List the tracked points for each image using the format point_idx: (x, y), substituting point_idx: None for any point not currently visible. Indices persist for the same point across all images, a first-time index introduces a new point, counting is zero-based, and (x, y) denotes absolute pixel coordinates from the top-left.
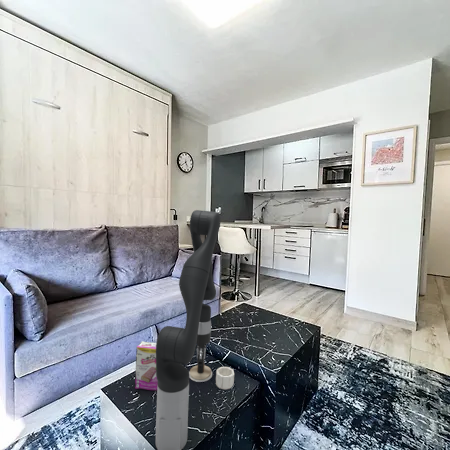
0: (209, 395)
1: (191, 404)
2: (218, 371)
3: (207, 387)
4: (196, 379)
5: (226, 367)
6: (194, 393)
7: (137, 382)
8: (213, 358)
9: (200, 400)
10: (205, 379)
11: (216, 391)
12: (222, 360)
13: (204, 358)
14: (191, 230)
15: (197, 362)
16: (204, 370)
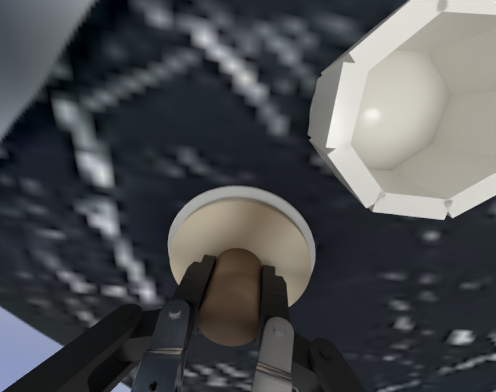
0: (455, 234)
1: (478, 320)
2: (407, 196)
3: (376, 233)
4: None
5: (352, 80)
6: (401, 299)
7: None
8: (50, 145)
9: (472, 282)
10: (306, 238)
11: None
12: (63, 71)
13: (291, 381)
14: None
15: (232, 343)
16: (235, 245)
